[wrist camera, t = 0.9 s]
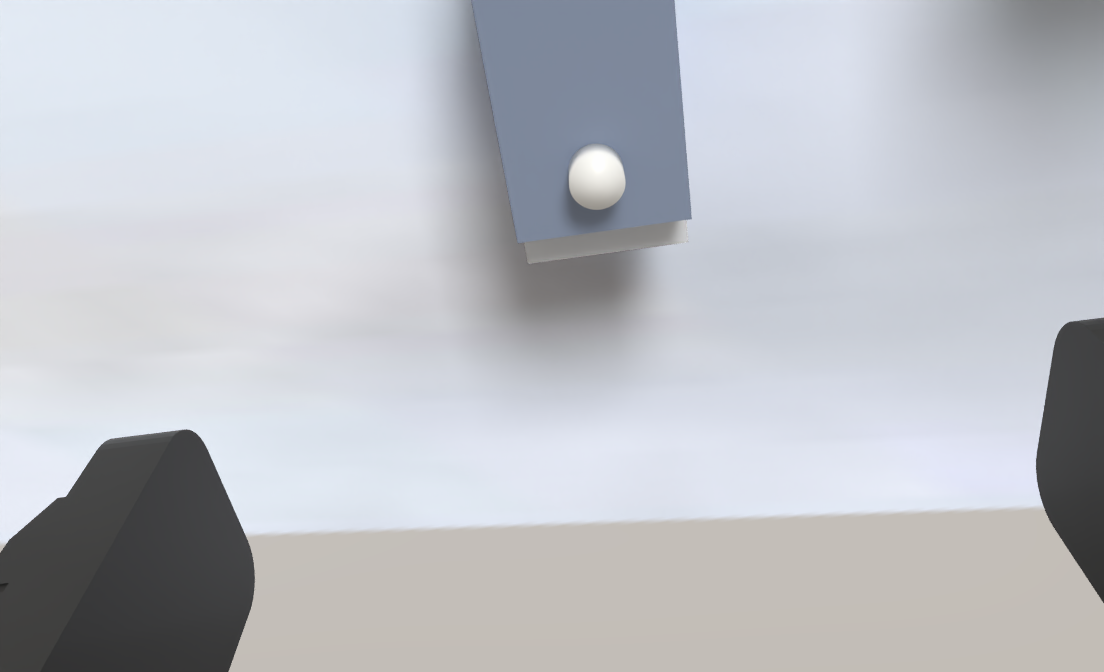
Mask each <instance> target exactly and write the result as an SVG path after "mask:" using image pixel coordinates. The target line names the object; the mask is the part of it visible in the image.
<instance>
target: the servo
mask: <svg viewBox="0 0 1104 672" xmlns="http://www.w3.org/2000/svg"><path fill="white" fill-rule="evenodd" d="M471 1H472V6H473V11H474V17H475V22H476V27H477V32H478V38H479V43H480V48H481V53H482V59H483V64H484V69H485V74H486V80H487V85H488V90H489V95H490V101H491V106H492V111H493V116H494V122H495V127H496V132H497V137H498V143H499V148H500V153H501V158H502V164H503V169H504V174H505V179H506V185H507V190H508V195H509V200H510V206H511V211H512V216H513V221H514V227H515V232H516V237H517V242H518V243H523V242H524V246H525V252H526V257H527V262H528V264H533V263H540V262H547V261H554V260H562V259H569V258H576V257H584V256H591V255H598V254H606V253H613V252H620V251H628V250H635V249H642V248H649V247H657V246H664V245H671V244H679V243H686V242H688V234H687V222H686V220H688V219H692V217H691V204H690V192H689V179H688V167H687V154H686V142H685V129H684V116H683V104H682V91H681V79H680V66H679V54H678V41H677V28H676V16H675V3H674V0H471Z"/></svg>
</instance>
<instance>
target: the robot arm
mask: <svg viewBox="0 0 1104 672" xmlns="http://www.w3.org/2000/svg"><path fill="white" fill-rule="evenodd" d="M1036 473H1037V482H1038V488H1039V492H1040V496H1041V499H1042V503H1043V506H1044V508H1045V511H1046V513H1047V516H1048V518H1049V520H1050V521H1051V523H1052V525H1053V527H1054V528H1055V530H1056V531H1057V533H1058V534H1059V536H1060V538H1061V539H1062V541H1063V542H1064V544H1065V545H1066V547H1067V548H1068V549H1069V551H1070V553H1071V554H1072V556H1073V557H1074V559H1075V560H1076V562H1077V563H1078V565H1079V566H1080V568H1081V569H1082V571H1083V572H1084V574H1085V575H1086V577H1087V578H1088V580H1089V582H1090V583H1091V584H1092V586H1093V588H1094V589H1095V591H1096V592H1097V594H1098V595H1099V597H1100V598H1101V600H1102V601H1103V603H1104V318H1097V319H1089V320H1081V321H1073V322H1069V323H1067V324H1065V325H1064V326H1063V327H1062V328H1061V330H1060V331H1059V333H1058V335H1057V338H1056V341H1055V345H1054V350H1053V356H1052V363H1051V369H1050V375H1049V381H1048V387H1047V394H1046V400H1045V406H1044V412H1043V419H1042V425H1041V431H1040V437H1039V443H1038V450H1037V458H1036ZM254 583H255V576H254V563H253V557H252V553H251V549H250V546H249V543H248V540H247V538H246V536H245V534H244V531H243V529H242V527H241V524H240V522H239V520H238V518H237V515H236V513H235V511H234V509H233V506H232V504H231V502H230V500H229V497H228V495H227V493H226V491H225V488H224V486H223V484H222V482H221V479H220V477H219V475H218V472H217V470H216V468H215V466H214V463H213V461H212V459H211V457H210V454H209V452H208V450H207V448H206V446H205V444H204V442H203V441H202V439H201V438H200V437H199V436H198V435H197V434H196V433H195V432H193V431H191V430H178V431H170V432H162V433H154V434H146V435H138V436H130V437H122V438H114V439H110V440H107V441H106V442H104V443H103V444H102V445H101V446H100V447H99V448H98V450H97V451H96V453H95V454H94V456H93V457H92V459H91V460H90V462H89V463H88V465H87V466H86V468H85V469H84V471H83V472H82V474H81V475H80V477H79V478H78V480H77V481H76V483H75V484H74V486H73V487H72V489H71V490H70V492H69V493H68V495H67V496H66V497H62V498H57V499H56V500H55V501H54V502H53V503H52V504H50V505H49V506H48V507H47V508H46V509H45V510H43V511H42V512H41V513H40V514H39V515H38V516H36V517H35V518H34V519H33V520H32V521H31V522H30V523H28V524H27V525H26V526H25V527H24V528H23V529H21V530H20V531H19V532H18V533H17V534H16V535H14V536H13V537H12V538H11V539H10V540H9V541H8V543H7V544H6V546H5V547H4V548H3V550H2V551H1V553H0V672H228V671H229V668H230V666H231V663H232V660H233V657H234V654H235V651H236V649H237V646H238V643H239V640H240V637H241V635H242V632H243V629H244V626H245V623H246V620H247V618H248V615H249V612H250V609H251V606H252V601H253V595H254Z"/></svg>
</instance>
